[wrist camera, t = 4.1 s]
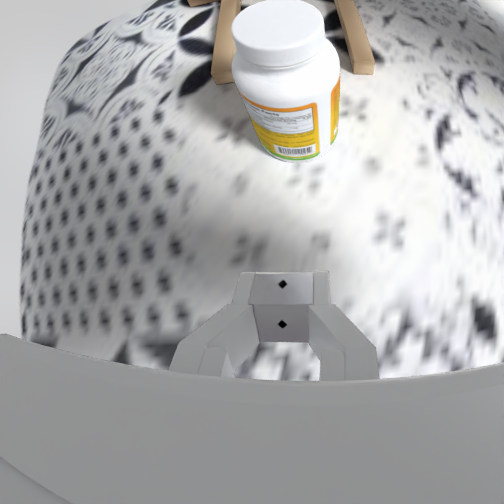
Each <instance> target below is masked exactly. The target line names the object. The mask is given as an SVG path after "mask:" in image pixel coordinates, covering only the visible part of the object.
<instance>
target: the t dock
mask: <svg viewBox="0 0 504 504" xmlns="http://www.w3.org/2000/svg"><path fill="white" fill-rule="evenodd" d="M187 1H188V3H189V4H190V6H191V7H193V6H197V5H202V4H206V3H210V2H215V1H220V0H187ZM334 2H335V6H336V9H337V12H338V15H339V19H340V22H341V26H342V29H343V33H344V37H345V40H346V44H347V48H348V52H349V56H350V60H351V65H352V69H353V73H354V74H369V75H373V71H374V64H375V61H374V57H373V54H372V51H371V48H370V44H369V41H368V38H367V35H366V32H365V29H364V27H363V24H362V21H361V18H360V15H359V13H358V10H357V8H356V5H355V2H354V0H334ZM240 10H241V0H221V6H220V12H219V18H218V25H217V31H216V38H215V45H214V52H213V60H212V67H211V75H212V76H213V78H214V80H215V82H216V84H224V83H230V82H235V81H234V79H233V75H232V61H233V58H234V55H235V53H236V51H237V49H236V46H235V42H234V40H233V37H232V33H231V26H232V23H233V20H234V19H235V17H236V16H237V15H238V14H239V13H240Z"/></svg>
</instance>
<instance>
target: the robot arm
mask: <svg viewBox="0 0 504 504" xmlns="http://www.w3.org/2000/svg"><path fill="white" fill-rule="evenodd" d="M260 342H305V343H309V345H310V346H311V348H312V349H313V351H314V352H315V354H316V356H317V357H318V359H319V360H320V377H319V381H279V380H257V379H241V378H236V377H235V374H234V372H235V371H236V370H237V368H238V367H239V366H240V365H241V364H242V363H243V362H244V361H245V359H246V358H247V357H248V356H249V355H250V354H251V353H252V351H253V350H254V349H255V348H256V347H257V346H258V345H259V343H260ZM0 504H504V362H503V363H498V364H493V365H488V366H483V367H477V368H471V369H465V370H459V371H452V372H445V373H437V374H429V375H420V376H411V377H400V378H387V379H379V370H378V361H377V353H376V347H375V346H374V345H373V344H372V343H371V342H370V341H369V340H368V339H367V338H366V337H365V335H364V334H363V333H362V332H361V331H360V330H359V329H358V328H357V327H356V326H355V325H354V324H353V323H352V322H351V321H350V320H349V319H348V318H347V316H346V315H345V314H344V313H343V312H342V311H341V310H340V309H339V308H338V307H337V306H336V305H335V304H331V300H330V281H329V272H328V271H314V278H313V272H242V273H241V274H240V276H239V280H238V283H237V287H236V290H235V294H234V297H233V301H232V304H227V305H226V306H225V307H223V308H222V309H221V310H220V311H218V312H217V313H216V314H215V315H213V316H212V317H211V318H210V319H208V320H207V321H206V322H205V323H203V324H202V325H201V326H200V327H198V328H197V329H196V330H195V331H193V332H192V333H191V334H190V335H188V336H187V337H186V338H184V339H183V340H182V341H181V342H179V344H178V347H177V349H176V352H175V354H174V357H173V359H172V362H171V365H170V367H169V370H168V371H165V370H158V369H152V368H145V367H139V366H133V365H128V364H122V363H117V362H112V361H107V360H102V359H97V358H93V357H88V356H84V355H79V354H75V353H71V352H67V351H63V350H59V349H55V348H51V347H48V346H44V345H40V344H37V343H33V342H30V341H26V340H23V339H20V338H17V337H14V336H11V335H8V334H0Z"/></svg>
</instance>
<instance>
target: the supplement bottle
mask: <svg viewBox="0 0 504 504" xmlns="http://www.w3.org/2000/svg"><path fill="white" fill-rule="evenodd" d="M231 33H232V37H233V40H234V42H235V46H236V49H237V51H236V53H235V55H234V58H233V61H232V75H233V79H234V81H235V84H236V86H237V89H238V91H239V93H240V95H241V98H242V100H243V102H244V104H245V107H246V109H247V111H248V114H249V116H250V119H251V121H252V123H253V126H254V128H255V131H256V133H257V136H258V138H259V140H260V142H261V144H262V145H263V147H264V148H265V150H266V151H267V152H268V153H270V154H271V155H272V156H274V157H276V158H278V159H280V160H283V161H286V162H292V163H303V162H309V161H312V160H315V159H317V158H319V157H321V156H322V155H324V154H325V153H326V152H327V151H328V150H329V149H330V148H331V147H332V145H333V144H334V142H335V140H336V137H337V132H338V118H339V97H340V61H339V56H338V53H337V51H336V49H335V48H334V46H333V45H332V44H331V43H330V42H329V41H328V40H327V39H326V38H325V29H324V20H323V16H322V15H321V13H320V12H319V10H318V9H317V8H315V7H314V6H313V5H311V4H309V3H307V2H304V1H301V0H264V1H261V2H258V3H255V4H253V5H251V6H249V7H247V8H245V9H244V10H243V11H241V12H240V13H239V14H238V15H237V16H236V17H235V19H234V20H233V23H232V26H231Z"/></svg>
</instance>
